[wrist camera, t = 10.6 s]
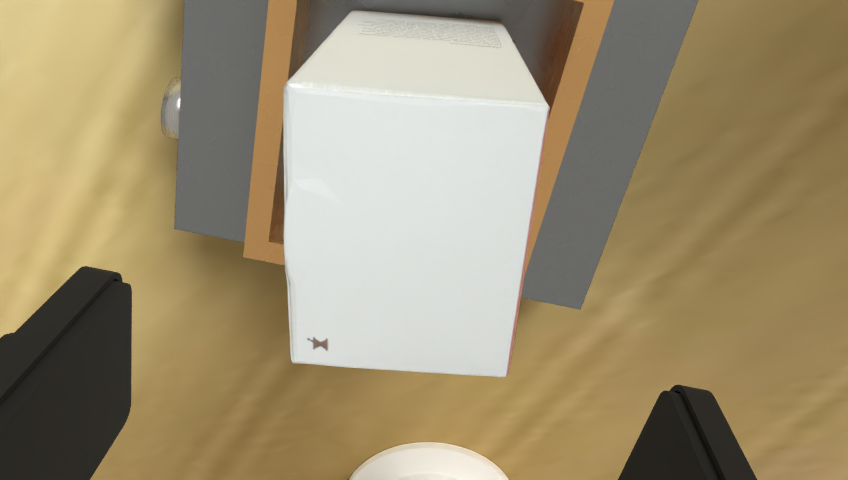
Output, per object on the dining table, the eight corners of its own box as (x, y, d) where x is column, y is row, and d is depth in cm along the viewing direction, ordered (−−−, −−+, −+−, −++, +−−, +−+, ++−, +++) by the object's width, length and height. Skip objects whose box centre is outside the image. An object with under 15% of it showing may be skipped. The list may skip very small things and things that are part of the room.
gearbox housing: (664, -43, 31) (741, -25, 23) (561, 252, 38) (592, 345, 30) (210, -152, 29) (122, -173, 21) (192, 177, 36) (121, 253, 28)
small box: (485, 201, 30) (510, 386, 19) (346, 191, 30) (284, 370, 18) (507, 16, 26) (555, 102, 15) (349, 4, 26) (273, 81, 15)
